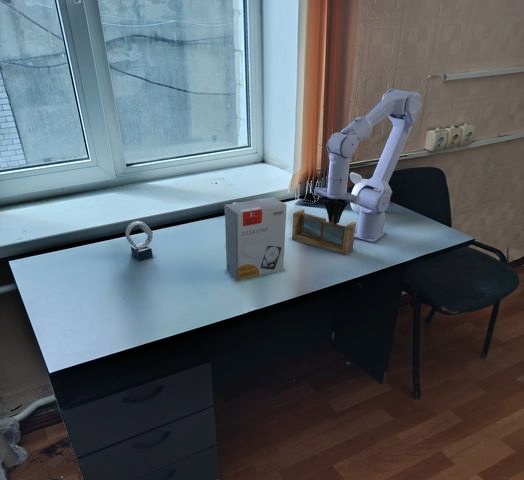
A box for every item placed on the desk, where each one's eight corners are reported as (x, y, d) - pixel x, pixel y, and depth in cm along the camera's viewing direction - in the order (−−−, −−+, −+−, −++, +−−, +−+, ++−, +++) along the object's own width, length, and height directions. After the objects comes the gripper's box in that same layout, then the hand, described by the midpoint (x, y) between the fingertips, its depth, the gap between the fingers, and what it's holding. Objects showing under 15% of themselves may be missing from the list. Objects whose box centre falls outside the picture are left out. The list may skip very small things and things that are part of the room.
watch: (158, 255, 150) (154, 221, 143) (134, 262, 146) (128, 228, 139) (150, 249, 153) (145, 216, 147) (126, 256, 149) (120, 222, 143)
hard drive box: (236, 282, 136) (234, 213, 124) (225, 271, 141) (222, 204, 130) (284, 270, 142) (287, 204, 130) (272, 260, 147) (273, 195, 136)
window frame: (300, 234, 163) (301, 208, 158) (352, 249, 154) (356, 222, 149) (291, 239, 160) (293, 213, 155) (345, 255, 151) (348, 227, 145)
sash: (321, 240, 156) (323, 212, 151) (345, 246, 152) (348, 218, 147) (318, 242, 155) (321, 213, 149) (342, 248, 151) (345, 220, 145)
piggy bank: (375, 207, 184) (380, 167, 176) (382, 219, 175) (389, 177, 166) (343, 208, 184) (347, 167, 175) (349, 219, 174) (353, 177, 166)
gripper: (309, 176, 142) (307, 220, 150) (353, 185, 135) (348, 231, 143) (322, 170, 147) (318, 214, 155) (365, 179, 140) (359, 224, 148)
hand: (333, 222), depth 149 cm, fingers closed on sash
